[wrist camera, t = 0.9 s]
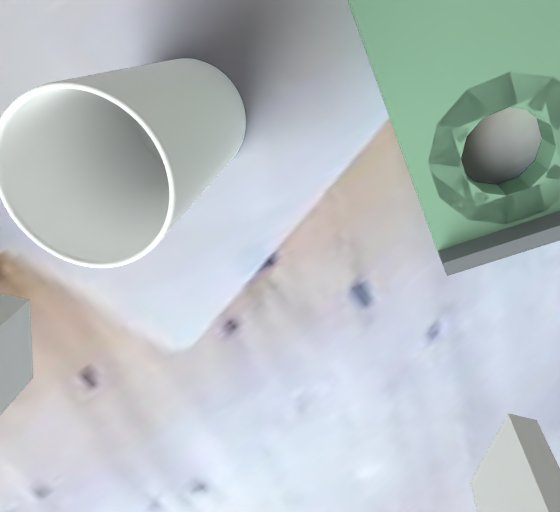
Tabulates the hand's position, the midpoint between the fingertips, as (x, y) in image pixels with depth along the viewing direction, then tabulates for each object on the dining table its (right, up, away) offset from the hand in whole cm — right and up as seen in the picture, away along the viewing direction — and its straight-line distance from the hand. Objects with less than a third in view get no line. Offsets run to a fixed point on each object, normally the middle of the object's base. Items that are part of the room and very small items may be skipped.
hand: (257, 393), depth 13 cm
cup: (-6, +14, +22) cm, 27 cm away
